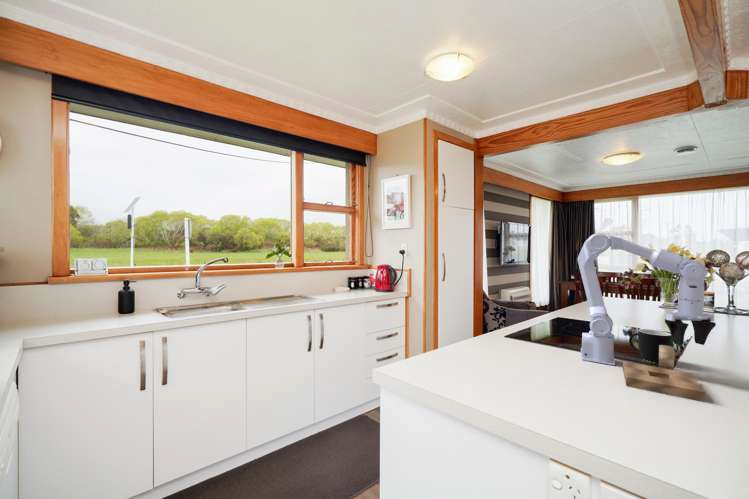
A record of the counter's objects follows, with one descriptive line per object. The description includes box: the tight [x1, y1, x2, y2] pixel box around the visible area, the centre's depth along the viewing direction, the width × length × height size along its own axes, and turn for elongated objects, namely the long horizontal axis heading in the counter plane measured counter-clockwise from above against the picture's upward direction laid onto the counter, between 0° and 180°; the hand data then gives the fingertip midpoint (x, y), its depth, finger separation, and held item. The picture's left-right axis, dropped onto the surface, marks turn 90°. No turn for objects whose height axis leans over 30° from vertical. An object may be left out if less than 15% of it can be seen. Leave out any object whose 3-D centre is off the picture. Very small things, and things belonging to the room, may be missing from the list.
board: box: [622, 361, 706, 403], centre depth 95 cm, size 16×16×2 cm
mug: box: [628, 328, 672, 364], centre depth 117 cm, size 12×9×10 cm
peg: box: [657, 345, 676, 370], centre depth 104 cm, size 4×4×8 cm
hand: (688, 344), depth 102 cm, fingers open, 7 cm apart
